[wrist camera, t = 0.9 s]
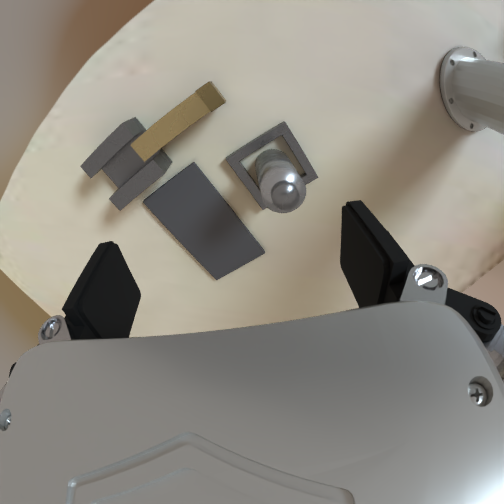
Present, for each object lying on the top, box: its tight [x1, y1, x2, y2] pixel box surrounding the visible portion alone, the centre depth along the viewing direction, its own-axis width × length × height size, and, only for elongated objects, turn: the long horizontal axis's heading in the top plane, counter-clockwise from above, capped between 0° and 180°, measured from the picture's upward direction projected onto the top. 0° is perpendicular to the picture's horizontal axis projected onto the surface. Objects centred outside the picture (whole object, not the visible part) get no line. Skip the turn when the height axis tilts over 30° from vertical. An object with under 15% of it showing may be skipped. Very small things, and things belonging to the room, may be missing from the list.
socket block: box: [81, 117, 172, 211], centre depth 27 cm, size 7×7×4 cm
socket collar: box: [226, 122, 318, 210], centre depth 31 cm, size 8×8×1 cm
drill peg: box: [255, 149, 306, 213], centre depth 27 cm, size 4×4×9 cm
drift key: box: [131, 81, 226, 162], centre depth 25 cm, size 10×3×3 cm, turn 123°
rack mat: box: [143, 162, 265, 280], centre depth 35 cm, size 8×15×1 cm, turn 33°
